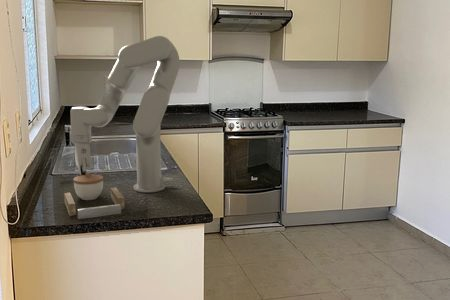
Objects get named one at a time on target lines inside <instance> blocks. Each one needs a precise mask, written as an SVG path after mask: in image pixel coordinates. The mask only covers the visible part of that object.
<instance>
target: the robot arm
mask: <svg viewBox="0 0 450 300" xmlns="http://www.w3.org/2000/svg"><path fill="white" fill-rule="evenodd" d="M178 52H179V51H178V50H177V48H176V47H175V45H174V44H173V42H171V40H170V39H169V38H168V37H165V36H163V35H157V36H153V37H150V38H146V39H144V40H141V41H139V42H135V43H132V44H127V45H125V46H122V47H121V49H120V50H119V52H118V56H117V60H116V61H115V64H114V65H113V68H112V70H111V71H110V73H109V76H107V79H106V82H105V83H106V84H105V85H106V86H105V89H104V92H103V93H102V96H101V98H100V100H99V102H98V104H97V106H96V107H93V108H89V107H88V106H83V105H82V106H72V107H71V109H70V111H69V112H70V115H69V116H70V135H71V138H70V139H71V140H70V141H71V144H74V158H75V165H76V167H77V168H78V169H77V170H78V176H81V175H87V173H88V168H89V169H91V168H92V158H91V157H92V156H91V155H92V154H91V146H90V144H91V143H92V142H93V141H92V127H95V128H103V127H105V126H107V125H108V124H109V123H110V122H111V121H112V120H113V117H115V114H116V112H117V110H118V108H119V106H120V105H121V102H122V100H123V98H124V97H125V96H126V94H127V93H128V90H129V89H130V86H131V84H132V82H133V81H134V78H135V77H136V75H137V73H138V72H139V70H140V67H143V66H147V65H149V64H151V63H152V64H153V63H155V62H157V63H156V64H157V65H156V67H155V69H154V73H153V76H152V78H151V80H150V81H151V82H150V83H149V85H148V87H147V88H146V90H145V91H144V93H143V95H142V98H141V100H140V103H139V106H138V108H137V110H136V113H135V117H134V119H133V122H132V128H133V131H134V134H135V150H136V151H135V156H136V158H135V161H136V183H135V184H133V188H132V189H133V190H134V191H135V192H137V193H138V192H139V193H156V192H157V193H158V192H161V191H163V190H165V189H166V183H167V184H168V183H174V178H173V177H168V176H167V177H163V176H162V158H161V156H162V155H161V149H162V148H161V124H162V121H163V118H164V115H165V113H166V111H167V107H168V105H169V102H170V97H171V94H172V90H173V88H174V86H175V82H176V79H177V77H178V73H179V70H180V61H181V60H180V55H179V53H178Z"/></svg>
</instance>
